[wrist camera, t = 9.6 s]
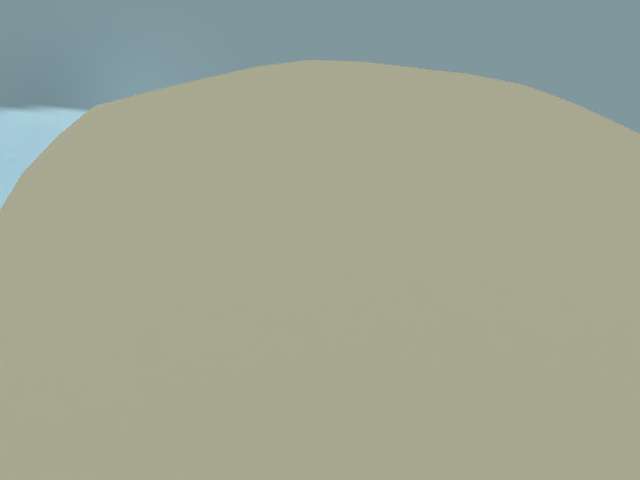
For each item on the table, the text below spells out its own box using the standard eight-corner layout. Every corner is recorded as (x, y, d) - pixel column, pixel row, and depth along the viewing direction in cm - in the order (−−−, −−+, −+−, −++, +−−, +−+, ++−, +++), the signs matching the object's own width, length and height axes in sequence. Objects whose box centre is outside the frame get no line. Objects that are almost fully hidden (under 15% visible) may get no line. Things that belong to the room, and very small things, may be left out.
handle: (171, 398, 18) (44, 25, 5) (374, 405, 19) (735, 105, 6) (150, 578, 16) (-189, 794, 3) (380, 577, 17) (989, 735, 4)
